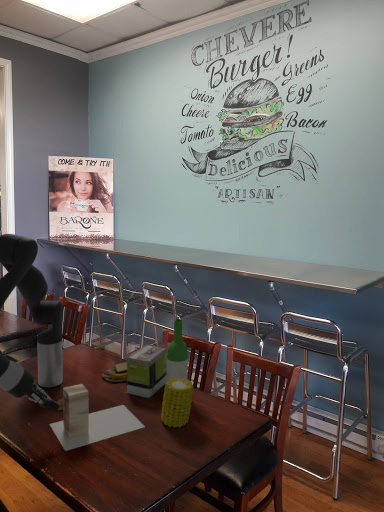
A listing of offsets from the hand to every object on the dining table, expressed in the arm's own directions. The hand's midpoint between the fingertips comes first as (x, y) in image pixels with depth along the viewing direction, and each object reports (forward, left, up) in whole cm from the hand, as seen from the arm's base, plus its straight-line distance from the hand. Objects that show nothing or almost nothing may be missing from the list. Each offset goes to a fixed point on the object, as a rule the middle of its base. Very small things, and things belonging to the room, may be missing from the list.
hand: (56, 408), depth 132 cm
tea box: (-17, +40, -10) cm, 45 cm away
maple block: (0, +6, -9) cm, 11 cm away
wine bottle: (-5, +46, -10) cm, 47 cm away
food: (+10, +37, -10) cm, 39 cm away
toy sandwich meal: (-33, +35, -10) cm, 49 cm away
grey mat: (0, +13, -10) cm, 16 cm away
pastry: (-18, +9, -10) cm, 23 cm away
